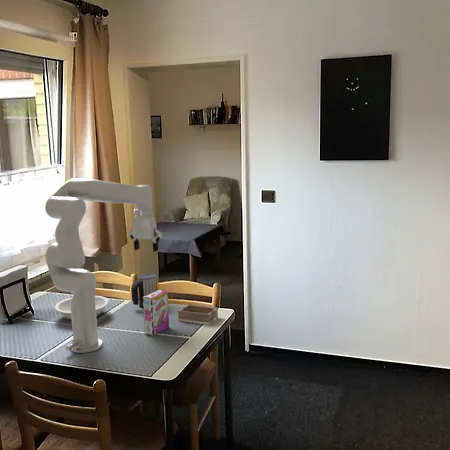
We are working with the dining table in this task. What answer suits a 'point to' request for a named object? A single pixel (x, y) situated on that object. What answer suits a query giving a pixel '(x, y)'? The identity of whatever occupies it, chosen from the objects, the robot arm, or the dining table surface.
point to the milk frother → (143, 287)
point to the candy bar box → (156, 312)
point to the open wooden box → (198, 314)
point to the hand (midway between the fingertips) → (146, 250)
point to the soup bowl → (65, 304)
